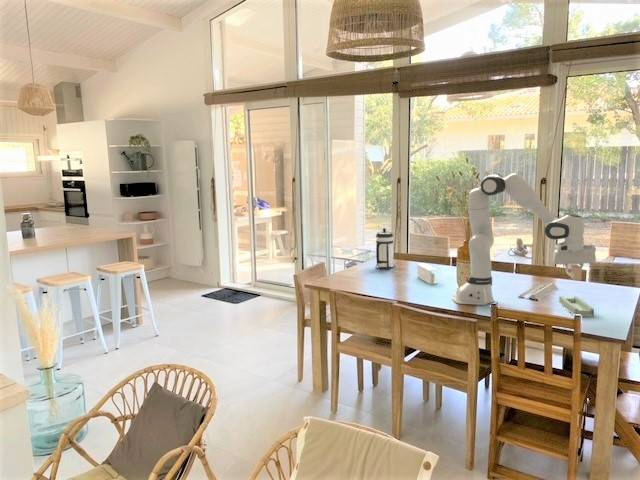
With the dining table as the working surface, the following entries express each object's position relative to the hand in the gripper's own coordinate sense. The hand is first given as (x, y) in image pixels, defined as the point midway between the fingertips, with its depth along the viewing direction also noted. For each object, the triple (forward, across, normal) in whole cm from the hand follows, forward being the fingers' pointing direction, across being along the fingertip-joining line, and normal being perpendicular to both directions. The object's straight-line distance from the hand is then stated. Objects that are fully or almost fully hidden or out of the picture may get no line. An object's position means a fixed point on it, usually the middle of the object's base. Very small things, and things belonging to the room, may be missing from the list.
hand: (573, 271), depth 251 cm
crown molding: (+21, +8, -31) cm, 38 cm away
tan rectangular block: (+2, 0, 0) cm, 2 cm away
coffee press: (+17, +98, -99) cm, 140 cm away
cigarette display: (+18, +70, -63) cm, 96 cm away
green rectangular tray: (+20, -1, 0) cm, 20 cm away
